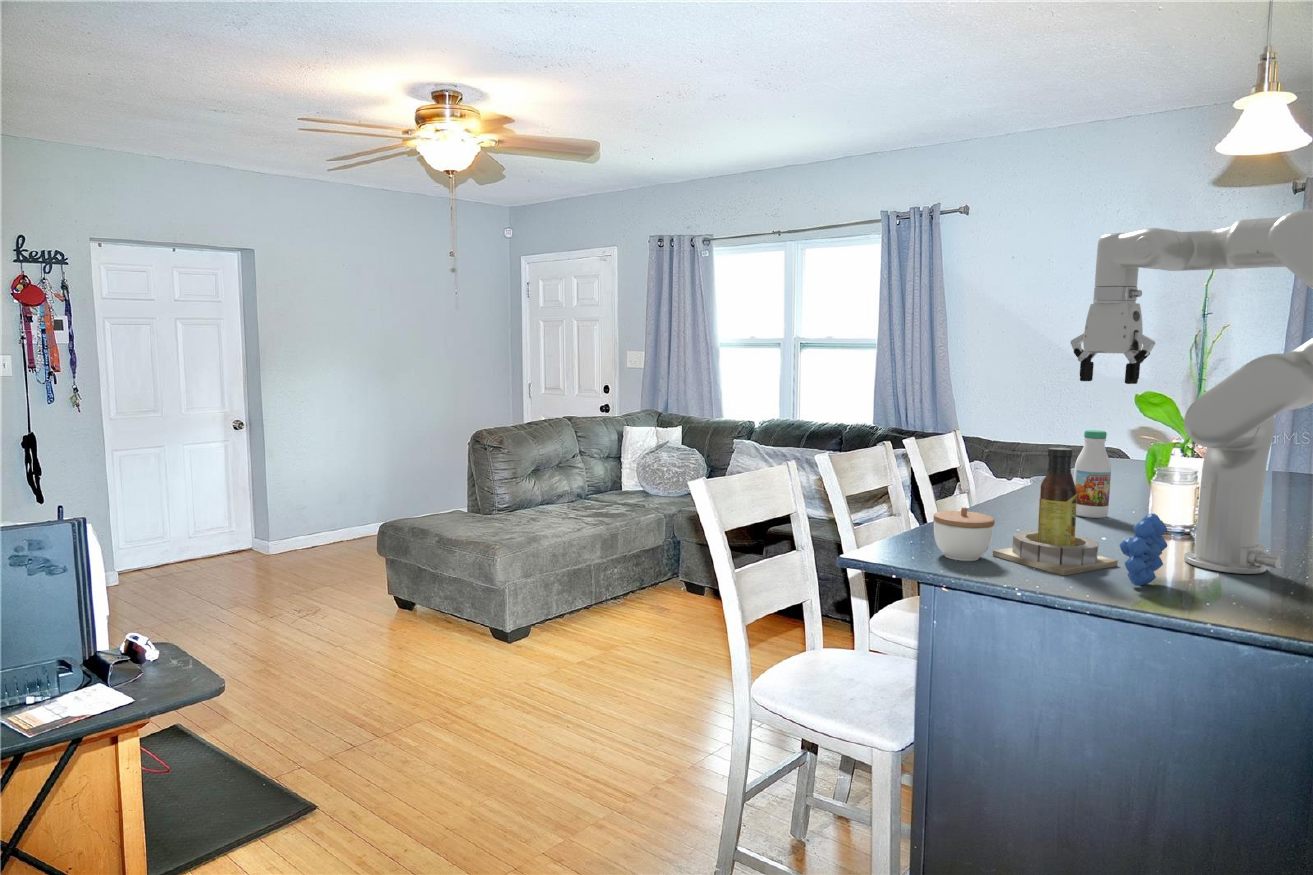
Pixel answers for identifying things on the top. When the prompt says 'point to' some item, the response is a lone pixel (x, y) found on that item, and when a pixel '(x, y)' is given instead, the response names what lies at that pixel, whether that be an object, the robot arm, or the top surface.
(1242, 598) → the top surface
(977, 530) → the lidded jar
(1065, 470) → the sauce bottle
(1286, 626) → the top surface
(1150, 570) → the grapes
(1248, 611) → the top surface
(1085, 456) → the milk bottle
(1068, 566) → the collar board
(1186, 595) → the top surface
